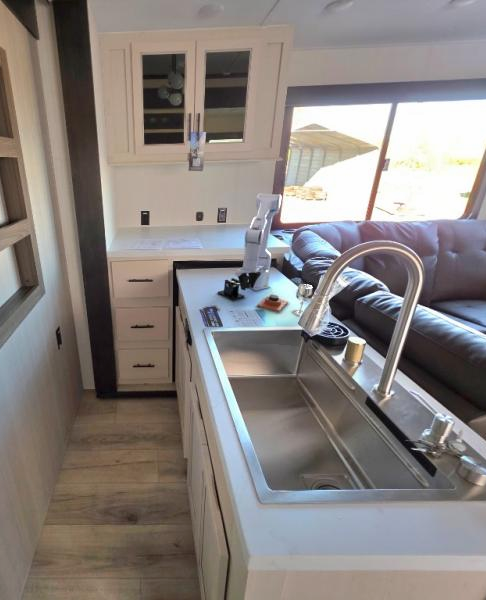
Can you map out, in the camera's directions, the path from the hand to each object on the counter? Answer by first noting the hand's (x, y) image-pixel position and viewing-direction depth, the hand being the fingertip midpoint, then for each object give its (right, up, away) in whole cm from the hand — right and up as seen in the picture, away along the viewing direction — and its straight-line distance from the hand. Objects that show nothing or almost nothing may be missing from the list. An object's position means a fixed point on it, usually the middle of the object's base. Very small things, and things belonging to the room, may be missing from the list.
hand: (246, 288), depth 136 cm
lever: (-2, 0, +3) cm, 4 cm away
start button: (+11, -5, -1) cm, 12 cm away
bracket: (-4, -3, +10) cm, 11 cm away
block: (+11, -7, 0) cm, 13 cm away
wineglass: (+19, -11, -7) cm, 23 cm away
